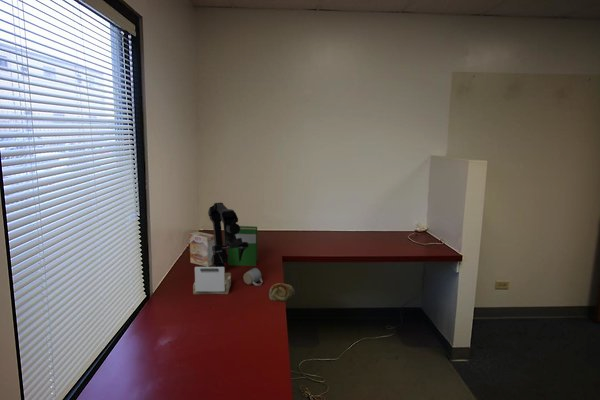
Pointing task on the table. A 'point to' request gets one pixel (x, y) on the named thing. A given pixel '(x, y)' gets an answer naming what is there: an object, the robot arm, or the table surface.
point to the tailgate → (209, 278)
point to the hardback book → (250, 252)
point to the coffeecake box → (201, 248)
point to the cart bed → (227, 287)
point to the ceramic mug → (252, 277)
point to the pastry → (281, 292)
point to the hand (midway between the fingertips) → (231, 262)
